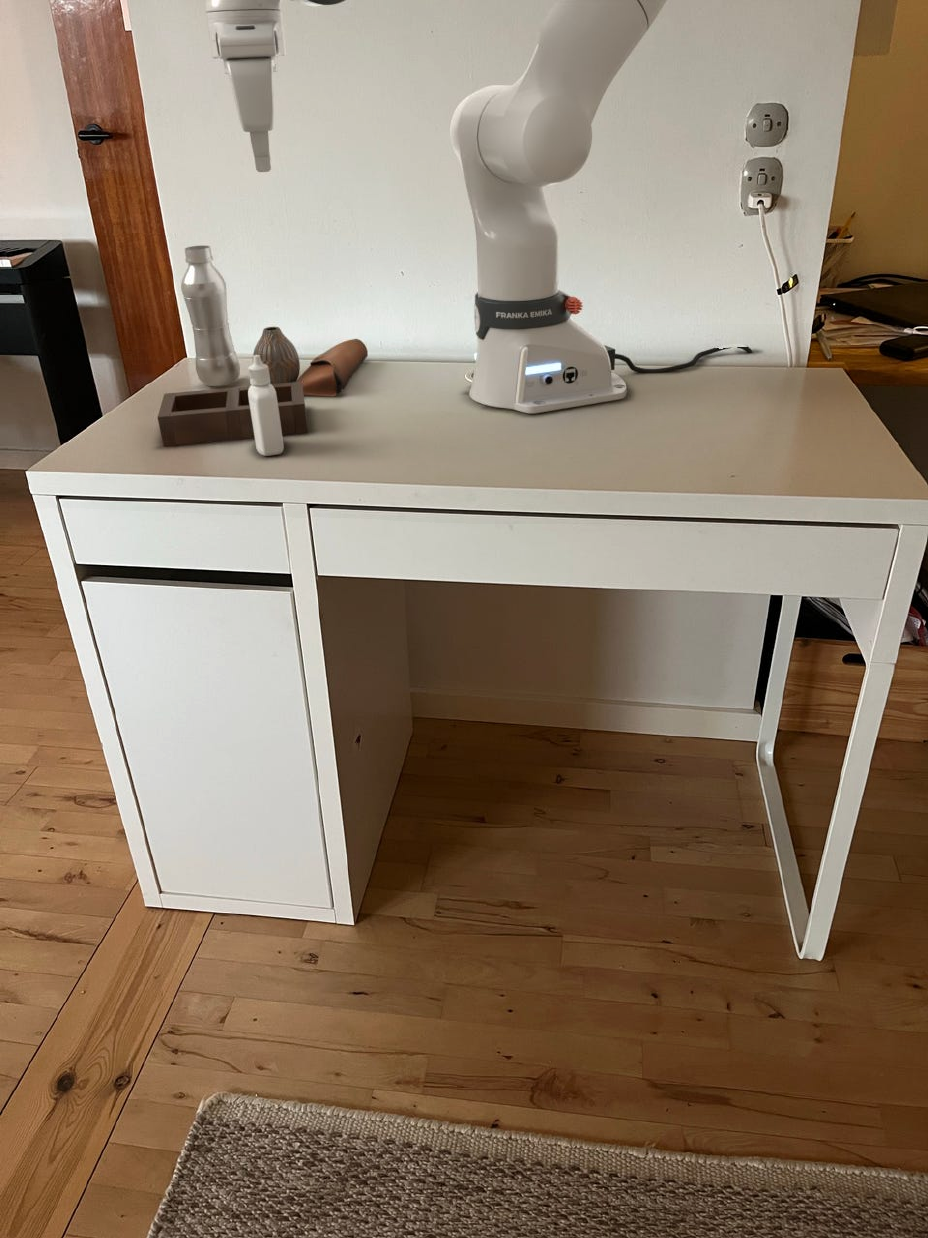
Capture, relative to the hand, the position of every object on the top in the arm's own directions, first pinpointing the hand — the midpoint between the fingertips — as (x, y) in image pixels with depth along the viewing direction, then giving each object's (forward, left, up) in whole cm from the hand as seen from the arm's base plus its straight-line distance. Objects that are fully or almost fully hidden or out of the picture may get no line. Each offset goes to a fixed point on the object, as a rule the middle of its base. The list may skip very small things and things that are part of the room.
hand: (263, 167), depth 121 cm
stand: (+8, +7, -31) cm, 33 cm away
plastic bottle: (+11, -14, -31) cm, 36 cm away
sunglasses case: (-6, -12, -31) cm, 34 cm away
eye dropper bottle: (+4, +17, -31) cm, 36 cm away
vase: (+2, -10, -31) cm, 33 cm away
